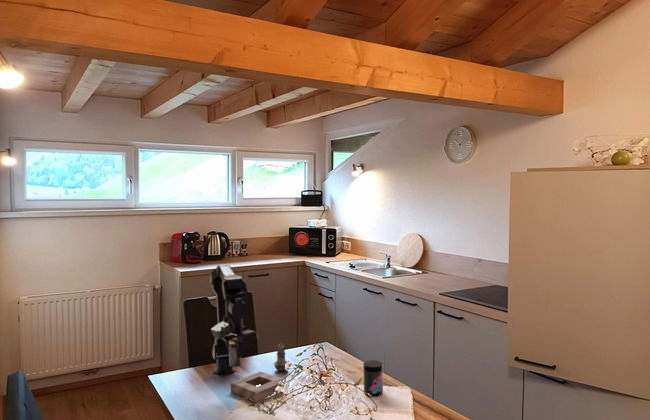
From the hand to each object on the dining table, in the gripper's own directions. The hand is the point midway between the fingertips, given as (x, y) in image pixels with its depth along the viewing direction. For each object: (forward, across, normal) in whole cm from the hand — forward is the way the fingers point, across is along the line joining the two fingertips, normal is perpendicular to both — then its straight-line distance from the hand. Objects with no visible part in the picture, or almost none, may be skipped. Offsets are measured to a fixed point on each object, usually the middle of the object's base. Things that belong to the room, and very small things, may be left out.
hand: (235, 356), depth 170 cm
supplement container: (+13, +37, +31) cm, 51 cm away
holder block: (+13, +5, +6) cm, 15 cm away
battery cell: (+3, 0, 0) cm, 3 cm away
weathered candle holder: (+13, -2, +24) cm, 28 cm away
